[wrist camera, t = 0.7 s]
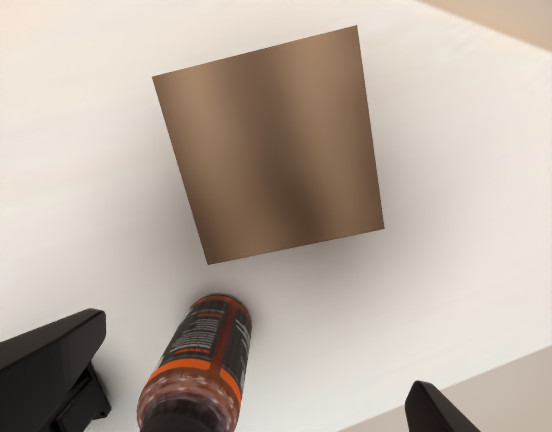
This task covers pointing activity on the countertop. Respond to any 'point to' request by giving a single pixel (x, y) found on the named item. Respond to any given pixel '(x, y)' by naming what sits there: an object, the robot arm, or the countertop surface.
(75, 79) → the countertop surface
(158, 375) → the supplement bottle
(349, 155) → the walnut block
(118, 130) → the countertop surface
